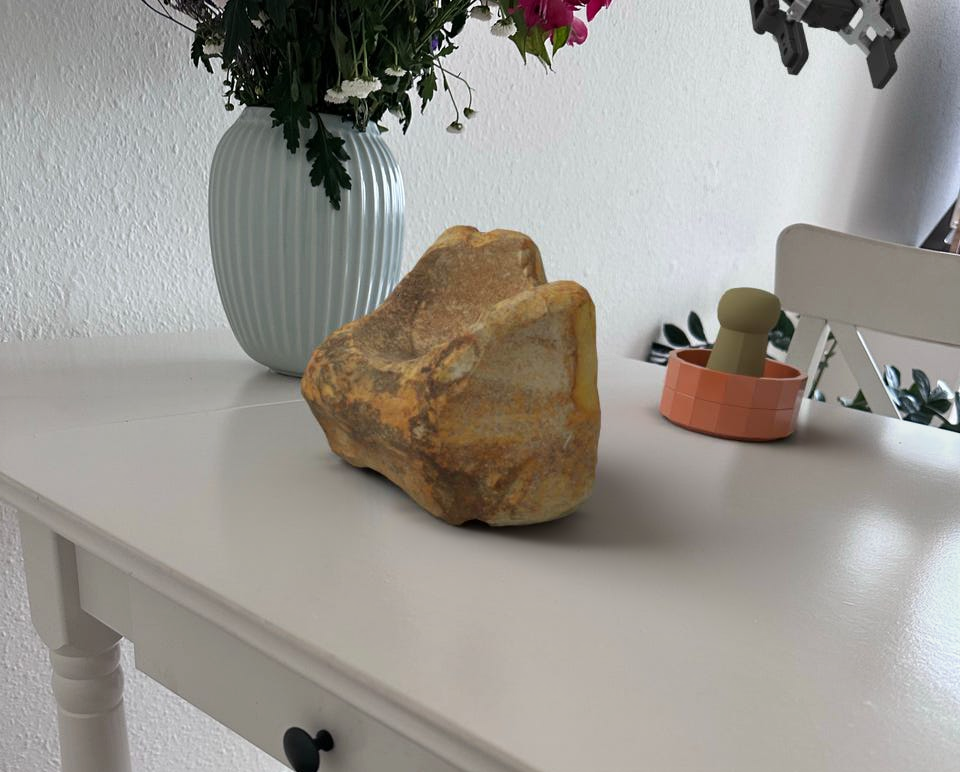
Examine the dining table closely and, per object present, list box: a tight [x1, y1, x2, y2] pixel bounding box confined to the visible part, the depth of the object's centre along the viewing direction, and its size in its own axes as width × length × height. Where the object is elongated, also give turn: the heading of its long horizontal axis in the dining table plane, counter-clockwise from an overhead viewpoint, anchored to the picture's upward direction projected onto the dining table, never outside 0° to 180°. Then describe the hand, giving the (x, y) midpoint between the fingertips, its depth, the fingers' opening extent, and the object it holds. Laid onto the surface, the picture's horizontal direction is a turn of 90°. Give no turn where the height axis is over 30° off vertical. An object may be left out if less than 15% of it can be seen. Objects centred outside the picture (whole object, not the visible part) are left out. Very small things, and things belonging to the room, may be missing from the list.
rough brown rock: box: [300, 224, 602, 527], centre depth 60 cm, size 23×17×15 cm
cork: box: [706, 286, 782, 378], centre depth 83 cm, size 6×6×11 cm
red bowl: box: [658, 347, 809, 442], centre depth 85 cm, size 12×12×6 cm
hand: (842, 74), depth 83 cm, fingers open, 8 cm apart
